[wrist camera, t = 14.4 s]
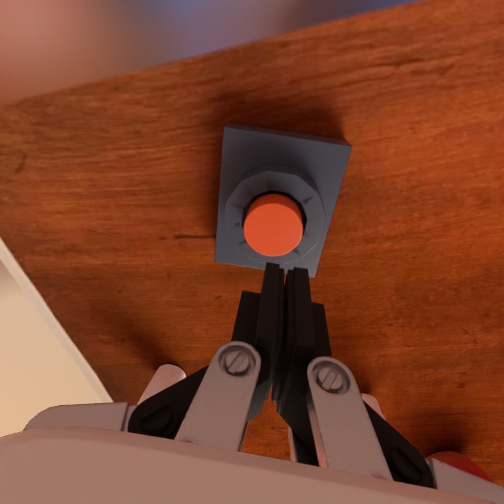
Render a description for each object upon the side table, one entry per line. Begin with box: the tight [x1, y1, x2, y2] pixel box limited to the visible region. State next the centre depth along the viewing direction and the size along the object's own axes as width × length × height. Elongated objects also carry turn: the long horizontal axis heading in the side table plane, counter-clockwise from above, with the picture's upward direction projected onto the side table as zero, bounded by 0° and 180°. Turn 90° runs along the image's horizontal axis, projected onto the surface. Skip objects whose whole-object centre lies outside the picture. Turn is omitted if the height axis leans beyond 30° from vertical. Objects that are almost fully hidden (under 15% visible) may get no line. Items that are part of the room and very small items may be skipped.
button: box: [244, 194, 303, 256], centre depth 18 cm, size 4×4×2 cm
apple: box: [426, 451, 493, 483], centre depth 33 cm, size 8×8×10 cm
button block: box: [214, 123, 352, 278], centre depth 20 cm, size 10×8×4 cm
